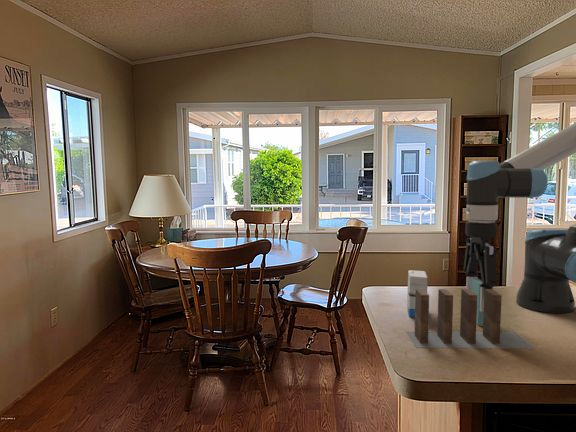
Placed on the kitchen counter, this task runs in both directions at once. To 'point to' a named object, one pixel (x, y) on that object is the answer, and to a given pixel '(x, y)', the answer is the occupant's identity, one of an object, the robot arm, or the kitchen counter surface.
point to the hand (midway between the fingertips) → (478, 305)
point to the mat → (481, 342)
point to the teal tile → (478, 300)
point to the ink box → (415, 282)
